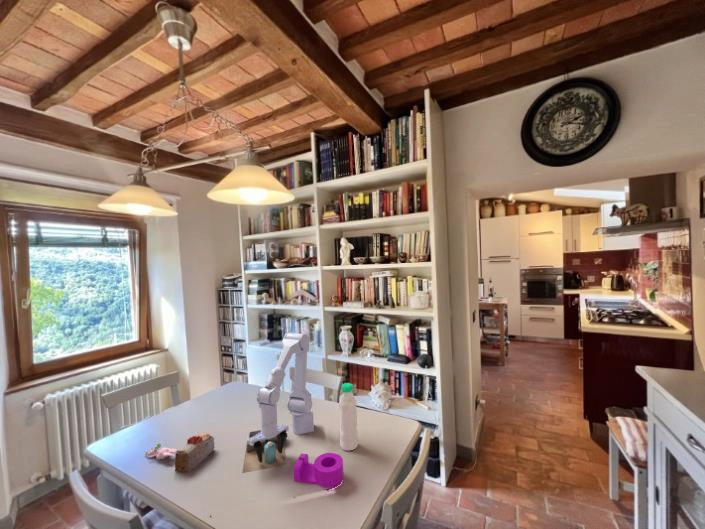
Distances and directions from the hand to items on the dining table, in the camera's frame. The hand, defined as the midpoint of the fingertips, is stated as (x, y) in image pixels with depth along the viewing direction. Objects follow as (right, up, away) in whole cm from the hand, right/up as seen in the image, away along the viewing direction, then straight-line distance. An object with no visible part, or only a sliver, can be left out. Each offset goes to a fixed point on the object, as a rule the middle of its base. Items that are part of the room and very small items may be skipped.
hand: (270, 456), depth 110 cm
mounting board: (-3, -3, +5) cm, 7 cm away
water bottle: (+29, -2, +9) cm, 31 cm away
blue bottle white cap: (0, -1, 0) cm, 1 cm away
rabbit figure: (-44, -4, +5) cm, 44 cm away
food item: (-29, -4, +2) cm, 29 cm away
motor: (-5, -1, +10) cm, 11 cm away
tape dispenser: (+20, -3, -8) cm, 22 cm away
